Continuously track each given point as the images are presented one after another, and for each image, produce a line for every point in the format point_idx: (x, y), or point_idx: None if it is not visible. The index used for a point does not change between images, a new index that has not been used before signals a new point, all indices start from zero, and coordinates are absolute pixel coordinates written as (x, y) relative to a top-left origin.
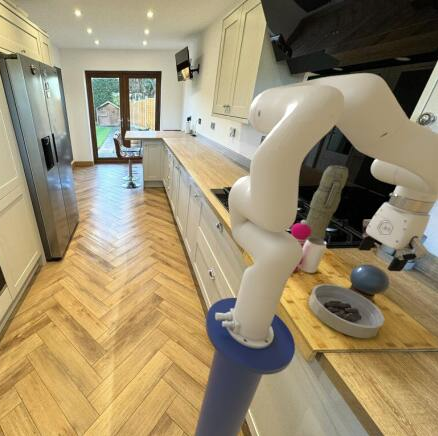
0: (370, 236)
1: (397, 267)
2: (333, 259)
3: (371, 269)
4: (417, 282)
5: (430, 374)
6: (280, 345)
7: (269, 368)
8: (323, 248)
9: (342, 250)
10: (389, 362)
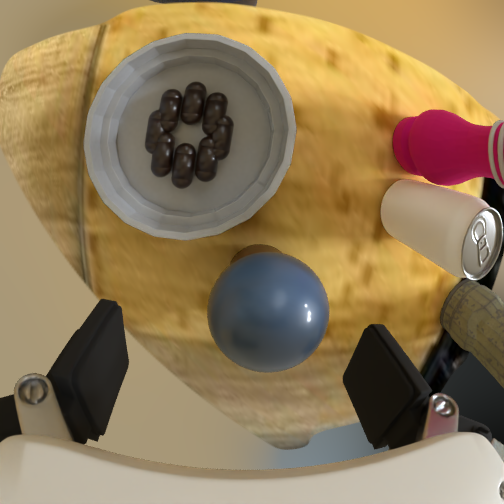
0: (411, 438)
1: (72, 337)
2: (402, 329)
3: (272, 328)
4: (279, 430)
5: (40, 216)
6: None
7: None
8: (450, 244)
9: None
10: (58, 150)
